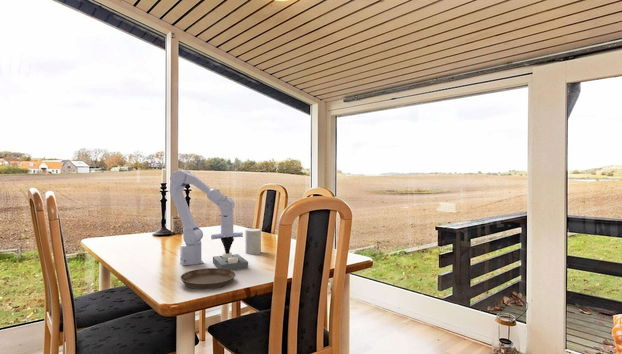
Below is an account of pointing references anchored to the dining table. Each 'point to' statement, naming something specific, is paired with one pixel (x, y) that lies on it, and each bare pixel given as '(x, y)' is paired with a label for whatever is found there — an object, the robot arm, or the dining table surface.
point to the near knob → (232, 260)
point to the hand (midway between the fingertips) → (227, 253)
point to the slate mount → (233, 266)
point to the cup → (253, 241)
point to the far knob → (226, 255)
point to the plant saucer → (208, 278)
